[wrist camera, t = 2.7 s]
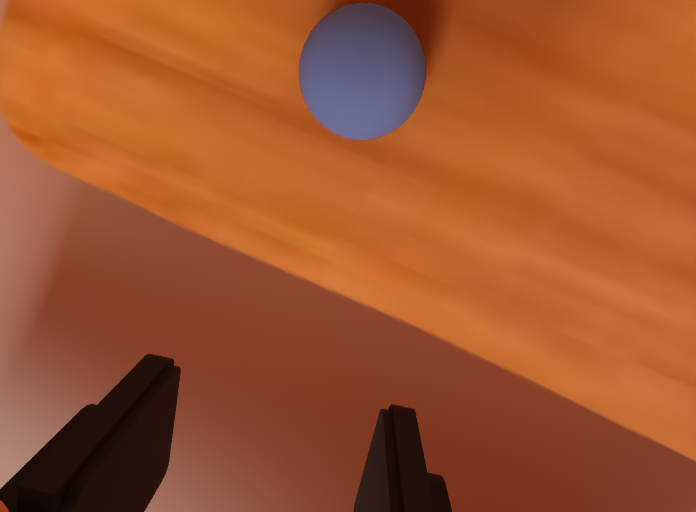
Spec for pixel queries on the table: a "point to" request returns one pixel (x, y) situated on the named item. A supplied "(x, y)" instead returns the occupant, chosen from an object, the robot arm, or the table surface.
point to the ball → (362, 71)
